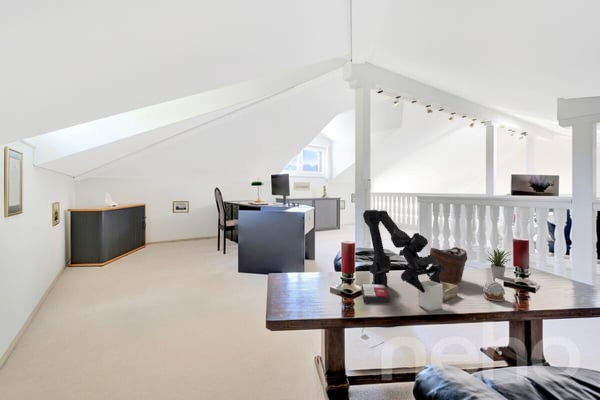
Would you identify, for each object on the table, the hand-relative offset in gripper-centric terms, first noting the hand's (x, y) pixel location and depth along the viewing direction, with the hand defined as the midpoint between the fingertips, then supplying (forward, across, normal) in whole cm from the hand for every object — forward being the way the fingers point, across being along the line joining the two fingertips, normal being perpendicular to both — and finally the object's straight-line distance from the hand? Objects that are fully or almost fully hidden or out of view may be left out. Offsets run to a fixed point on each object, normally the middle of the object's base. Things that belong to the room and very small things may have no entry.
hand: (432, 290), depth 125 cm
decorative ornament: (+8, +33, +3) cm, 34 cm away
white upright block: (+4, 0, +6) cm, 7 cm away
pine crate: (-2, +15, +13) cm, 20 cm away
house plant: (-7, +69, +18) cm, 71 cm away
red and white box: (-9, -13, +20) cm, 26 cm away
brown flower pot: (-13, +39, +23) cm, 47 cm away
